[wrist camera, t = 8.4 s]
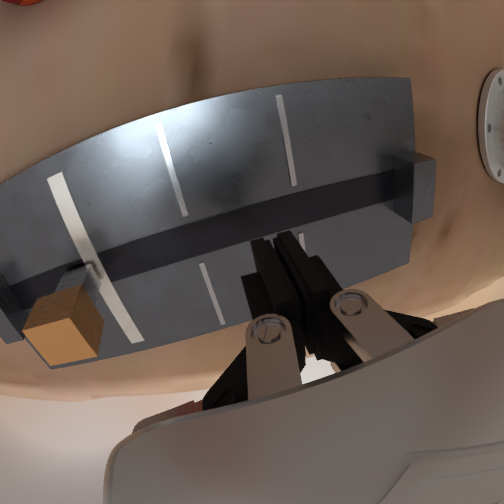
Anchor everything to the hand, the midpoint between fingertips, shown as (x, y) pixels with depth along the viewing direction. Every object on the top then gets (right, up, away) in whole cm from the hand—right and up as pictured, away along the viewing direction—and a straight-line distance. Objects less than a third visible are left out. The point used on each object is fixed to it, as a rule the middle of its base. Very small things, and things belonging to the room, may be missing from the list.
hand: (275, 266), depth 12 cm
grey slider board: (-5, +2, +5) cm, 7 cm away
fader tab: (-11, -1, +3) cm, 11 cm away
